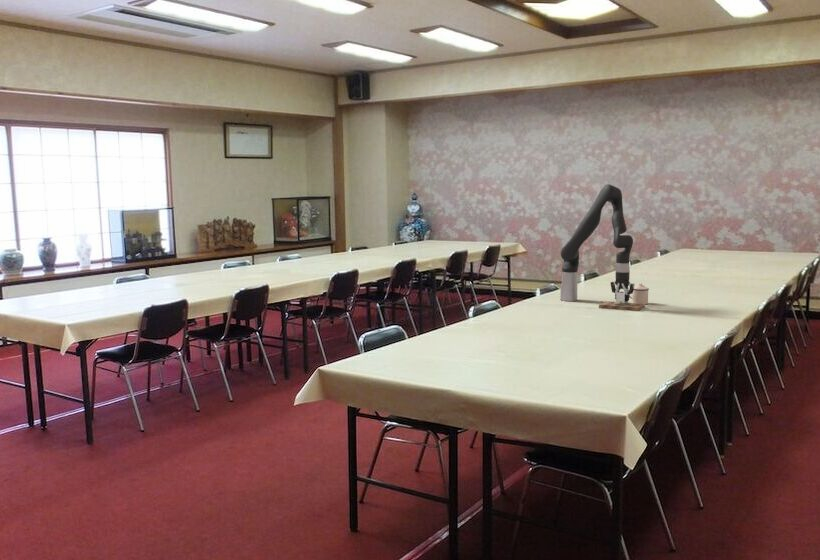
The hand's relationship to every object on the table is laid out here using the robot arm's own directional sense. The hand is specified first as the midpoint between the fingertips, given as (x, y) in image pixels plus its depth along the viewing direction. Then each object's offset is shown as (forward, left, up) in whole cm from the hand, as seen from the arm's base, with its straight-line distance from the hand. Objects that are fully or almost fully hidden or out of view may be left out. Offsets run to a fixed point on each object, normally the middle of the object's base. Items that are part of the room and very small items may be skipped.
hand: (622, 300), depth 415 cm
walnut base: (0, 0, -4) cm, 4 cm away
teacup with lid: (+4, +19, -4) cm, 19 cm away
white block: (0, 0, -1) cm, 1 cm away
